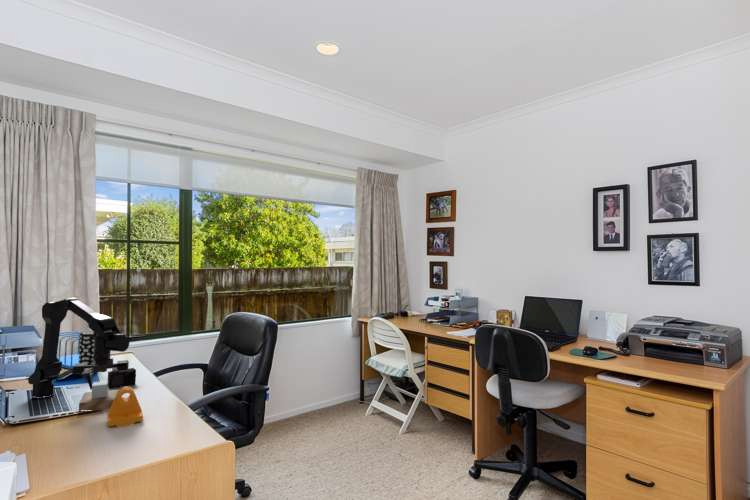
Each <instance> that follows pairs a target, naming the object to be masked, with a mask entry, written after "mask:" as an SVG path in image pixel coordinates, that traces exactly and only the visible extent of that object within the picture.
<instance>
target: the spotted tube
mask: <svg viewBox="0 0 750 500" xmlns="http://www.w3.org/2000/svg"><path fill="white" fill-rule="evenodd" d="M93 333H94V332H93V331H92V330H90V331H83V332H82V333H80V344H79V363H86V365H92V361H93V357H94V338H90V336H91V335H92V334H93ZM91 371H92V370H91ZM98 373H99V372H97V373H96V374H98ZM92 375H95V374H94V373H93V372H92Z"/></svg>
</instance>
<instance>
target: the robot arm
mask: <svg viewBox="0 0 750 500" xmlns="http://www.w3.org/2000/svg"><path fill="white" fill-rule="evenodd" d="M69 311H70V312H71V313H73V314H75V315H76V316H77V317H79V318H80V319H82V320H83V321H84V322H86V323H87V325H88V328H89V329H90V331H93V332H94V333H93V334H92V335H91V336H90V338H94V357H93V361H92V365H86V363H79V364H75V365H74V366H73V368H72V369H71V374H72V375H78V374H81V375H80V376H83V377H84V378H85V379H86V381H87V384H88V386H89V389H90V391H92V385H93V376H92V375H93V374H92V372H93V373H96V374H98V373H105V372H108V370H109V369H111V371H112V372H111V377H110V382H109V388H108V389H110V387H111V384H112V381H113V379H114V377H115V375H116V373H119V372H120V371H121V370H128V369H129V368H130V367H129V366H130V364H129V363H130V362H129V360H128V359H125V360H124V359H123V360H117V363H115V362H114V358H112V357H111V353H112V352H121V353H122V352H126V351H127V350H128V349H129V346H130V340H129V338H128V337H126V335H127V334H126V333H121V332H120V328H119V327H118V325H117V324H116V322H115V319H114V318H113V317H111V316H108V315H106V314H102V313H101V314H100V313H99V312H97V311H95V310H94V309H93V308H90V307H89V306H88V305H87V304H85V303H84V302H82V301H80V299H79V298H78V297H69V298H68V297H67V298H64V299H62V300H58V301H50V302H49V301H48V302H45V303H43V304H42V307H41V318H42V320H43V321H44V322H45V327H44V328H45V329H44V336H43V343H42V344H43V345H42V350H41V351H42V352H41V358H40V359H39V360H38V362H37V363H36V364H35V367H34V372H33V373H32V374H30V375H29V376H28V377H27V381H28V384H29V385H32V395H31V397H32V396H36V397H43V396H50V395H52V396H53V395H54V394H55V382H54V381H55V380H58V378H59V375H60V374H61V371H62V367H61V366H62V361H59V360H58V358H57V357H58V351H59V342H60V336H59V335H61V334H60V333H61V332H60V331H61V324H62V322H63V321H64V319H66V317H67V314H68V312H69ZM91 370H92V371H91ZM97 372H98V373H97Z"/></svg>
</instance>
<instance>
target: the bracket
mask: <svg viewBox="0 0 750 500" xmlns="http://www.w3.org/2000/svg"><path fill="white" fill-rule="evenodd" d="M119 389H120V390H119ZM119 389H118V390H119V391H118V393H117V395H116V397H115V399H114V401H113V403H112V406H111V408H110V409H108V413H107V419H106V420H107V426H108V427H113V426H115V427H116V428H119V427H127V426H131V425H130V424H133V425H135V423H137V422H142V421H143V419H144V414H143V409H142V407H141V405H140V403H139V401H138V399H137V395H136V394H135V390H134V389H133V387H131V386H124V387H120V388H119ZM125 394H129V395H128V396H127V397H123V396H124V395H125ZM126 425H127V426H126Z"/></svg>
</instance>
